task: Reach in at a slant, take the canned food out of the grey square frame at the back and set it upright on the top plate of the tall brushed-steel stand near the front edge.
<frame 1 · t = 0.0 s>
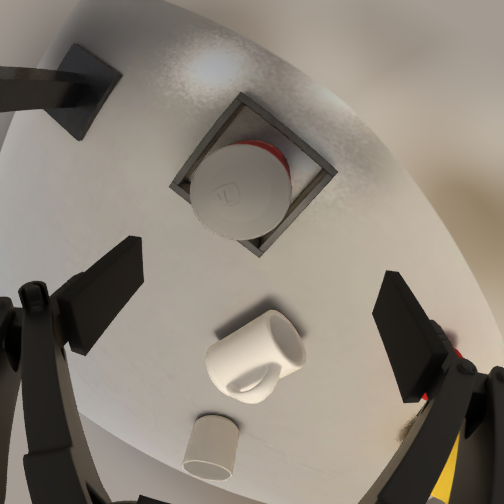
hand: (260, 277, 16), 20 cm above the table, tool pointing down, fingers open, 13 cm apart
grey square frame: (253, 173, 33), on the table
steel stand: (78, 90, 30), on the table
canned food: (253, 173, 33), resting in grey square frame
vase: (433, 424, 48), on the table
mug: (213, 426, 52), on the table
mug 2: (258, 335, 42), on the table
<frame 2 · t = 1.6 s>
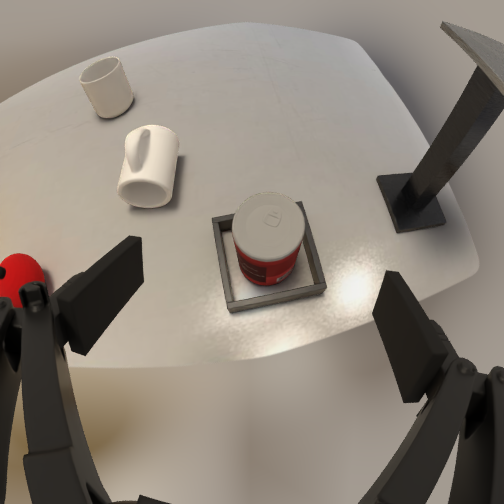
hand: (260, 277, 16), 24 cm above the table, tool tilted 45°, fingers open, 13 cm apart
grey square frame: (266, 259, 42), on the table
steel stand: (411, 201, 45), on the table
canned food: (266, 259, 42), resting in grey square frame
mug: (117, 103, 56), on the table
mug 2: (157, 181, 47), on the table
ornament: (36, 289, 41), on the table
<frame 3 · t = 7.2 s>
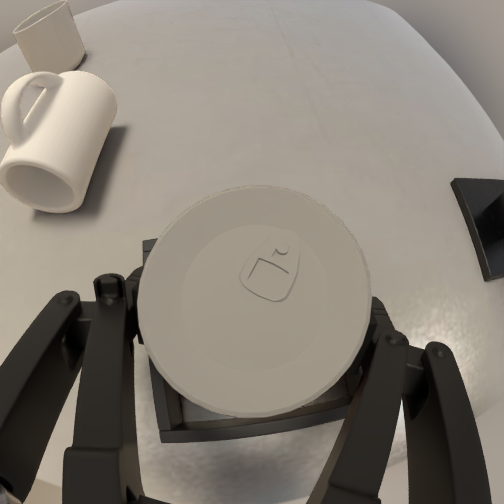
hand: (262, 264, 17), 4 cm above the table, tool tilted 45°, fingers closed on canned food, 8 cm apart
grey square frame: (254, 332, 19), on the table
steel stand: (498, 226, 23), on the table
canned food: (253, 333, 20), resting in grey square frame, touching gripper
mug: (66, 63, 34), on the table
mug 2: (79, 168, 25), on the table
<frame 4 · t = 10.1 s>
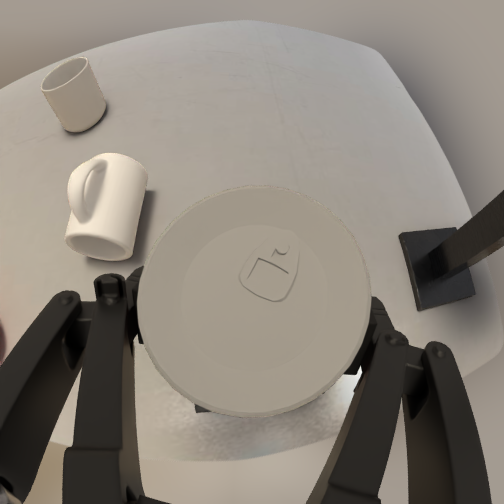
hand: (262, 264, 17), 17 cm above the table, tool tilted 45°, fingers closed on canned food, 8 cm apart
steel stand: (437, 267, 34), on the table
canned food: (253, 333, 20), point 12 cm above the table, touching gripper
mug: (88, 112, 45), on the table
mug 2: (120, 224, 37), on the table
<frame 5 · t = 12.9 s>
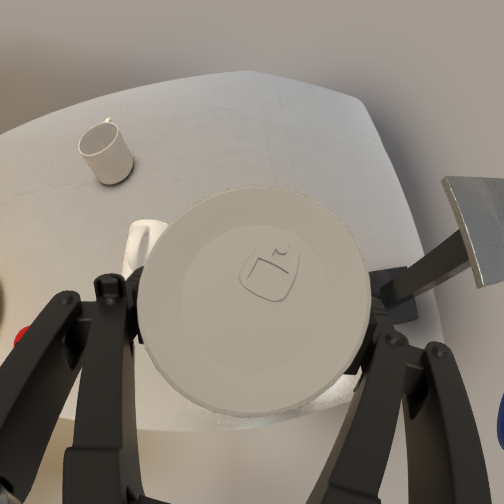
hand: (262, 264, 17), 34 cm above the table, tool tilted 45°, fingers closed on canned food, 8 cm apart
steel stand: (388, 297, 50), on the table
canned food: (253, 333, 20), point 29 cm above the table, touching gripper
mug: (117, 165, 61), on the table
mug 2: (156, 266, 52), on the table
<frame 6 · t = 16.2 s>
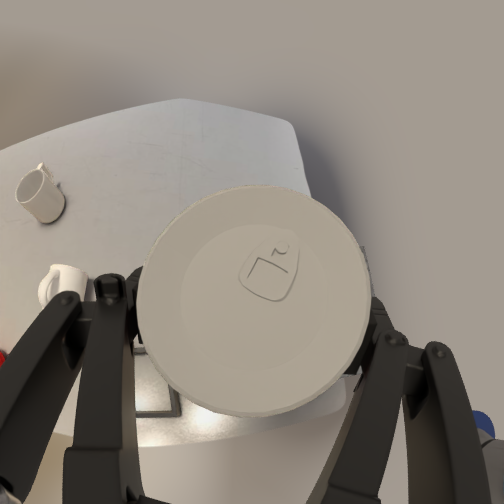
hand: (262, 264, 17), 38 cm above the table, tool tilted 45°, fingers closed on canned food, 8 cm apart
grey square frame: (143, 382, 49), on the table
canned food: (253, 332, 20), point 34 cm above the table, touching gripper
mug: (54, 204, 63), on the table
mug 2: (75, 300, 54), on the table
ornament: (2, 365, 48), on the table
when the fingers open (34 cm above the table, at t = 18.6 s): canned food stays where it is, resting on steel stand.
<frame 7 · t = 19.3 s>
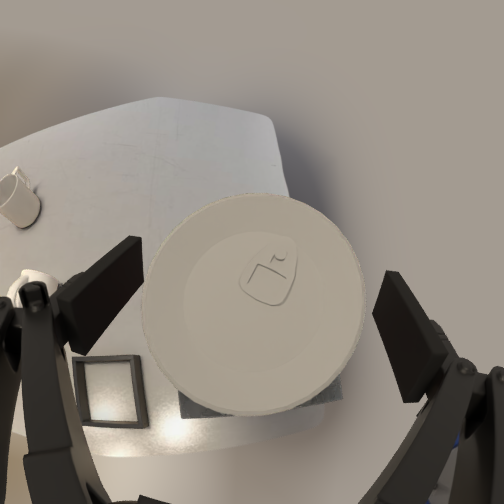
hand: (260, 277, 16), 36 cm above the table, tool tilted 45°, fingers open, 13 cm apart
grey square frame: (111, 391, 45), on the table
steel stand: (252, 353, 48), on the table
canned food: (253, 333, 20), point 30 cm above the table, touching steel stand
mug: (30, 208, 59), on the table
mug 2: (47, 306, 50), on the table
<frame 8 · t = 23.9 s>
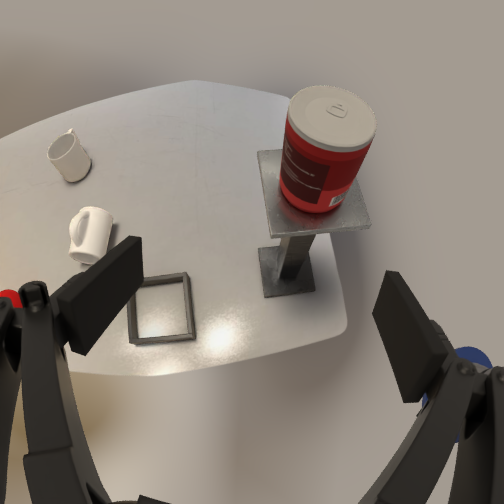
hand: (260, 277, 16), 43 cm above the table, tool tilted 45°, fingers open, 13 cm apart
grey square frame: (161, 310, 57), on the table
steel stand: (286, 270, 60), on the table
canned food: (312, 185, 33), point 30 cm above the table, touching steel stand
mug: (80, 166, 71), on the table
mug 2: (99, 244, 63), on the table
ornament: (21, 312, 56), on the table
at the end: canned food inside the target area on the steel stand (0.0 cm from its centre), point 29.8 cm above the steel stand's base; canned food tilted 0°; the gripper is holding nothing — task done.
